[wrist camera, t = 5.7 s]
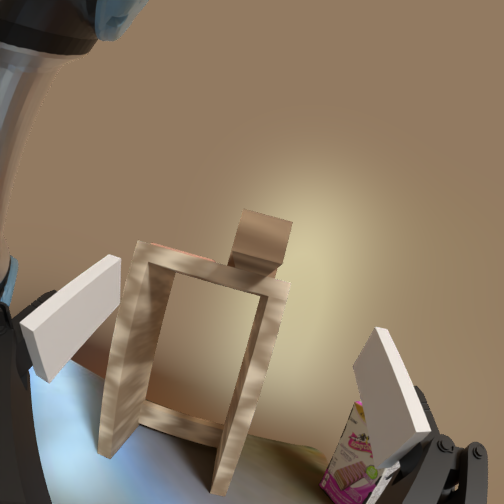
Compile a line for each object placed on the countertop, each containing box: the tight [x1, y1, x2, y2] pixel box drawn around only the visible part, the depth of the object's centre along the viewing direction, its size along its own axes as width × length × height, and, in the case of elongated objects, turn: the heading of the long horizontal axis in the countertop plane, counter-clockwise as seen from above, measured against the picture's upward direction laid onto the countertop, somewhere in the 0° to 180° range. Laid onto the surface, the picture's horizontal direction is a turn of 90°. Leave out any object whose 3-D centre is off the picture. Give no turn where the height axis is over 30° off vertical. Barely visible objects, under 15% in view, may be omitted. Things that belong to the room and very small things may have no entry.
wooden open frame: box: [98, 241, 291, 496], centre depth 35 cm, size 18×14×30 cm
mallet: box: [227, 209, 293, 279], centre depth 31 cm, size 24×6×6 cm, turn 2°
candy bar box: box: [319, 401, 400, 504], centre depth 28 cm, size 11×5×16 cm, turn 15°
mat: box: [151, 243, 215, 262], centre depth 38 cm, size 8×10×1 cm
